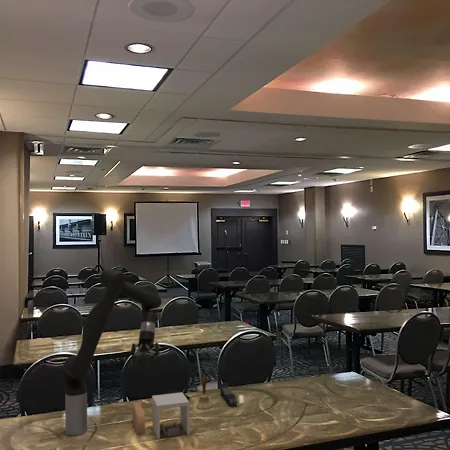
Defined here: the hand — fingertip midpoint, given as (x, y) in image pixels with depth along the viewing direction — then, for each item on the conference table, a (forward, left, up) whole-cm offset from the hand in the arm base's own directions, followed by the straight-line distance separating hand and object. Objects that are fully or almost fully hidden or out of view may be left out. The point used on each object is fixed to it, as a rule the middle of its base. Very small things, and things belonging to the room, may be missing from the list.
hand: (143, 364), depth 233 cm
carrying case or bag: (+21, +18, -25) cm, 37 cm away
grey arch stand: (+9, -23, -24) cm, 35 cm away
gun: (+45, +6, -25) cm, 51 cm away
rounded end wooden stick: (-4, -14, -24) cm, 29 cm away
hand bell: (+31, +2, -25) cm, 39 cm away
